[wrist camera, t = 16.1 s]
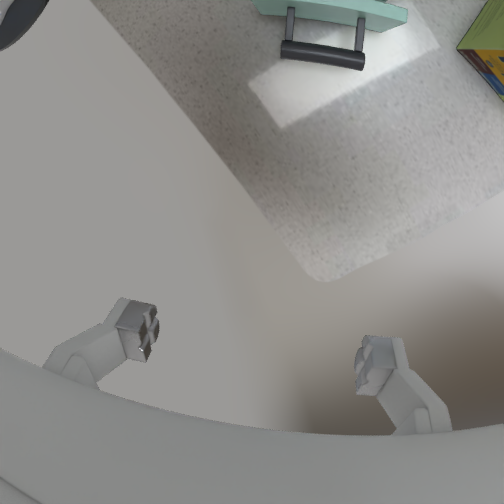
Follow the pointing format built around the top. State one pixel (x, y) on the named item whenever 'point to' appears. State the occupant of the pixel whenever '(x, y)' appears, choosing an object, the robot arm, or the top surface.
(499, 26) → the protein box
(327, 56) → the drawer
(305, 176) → the top surface
